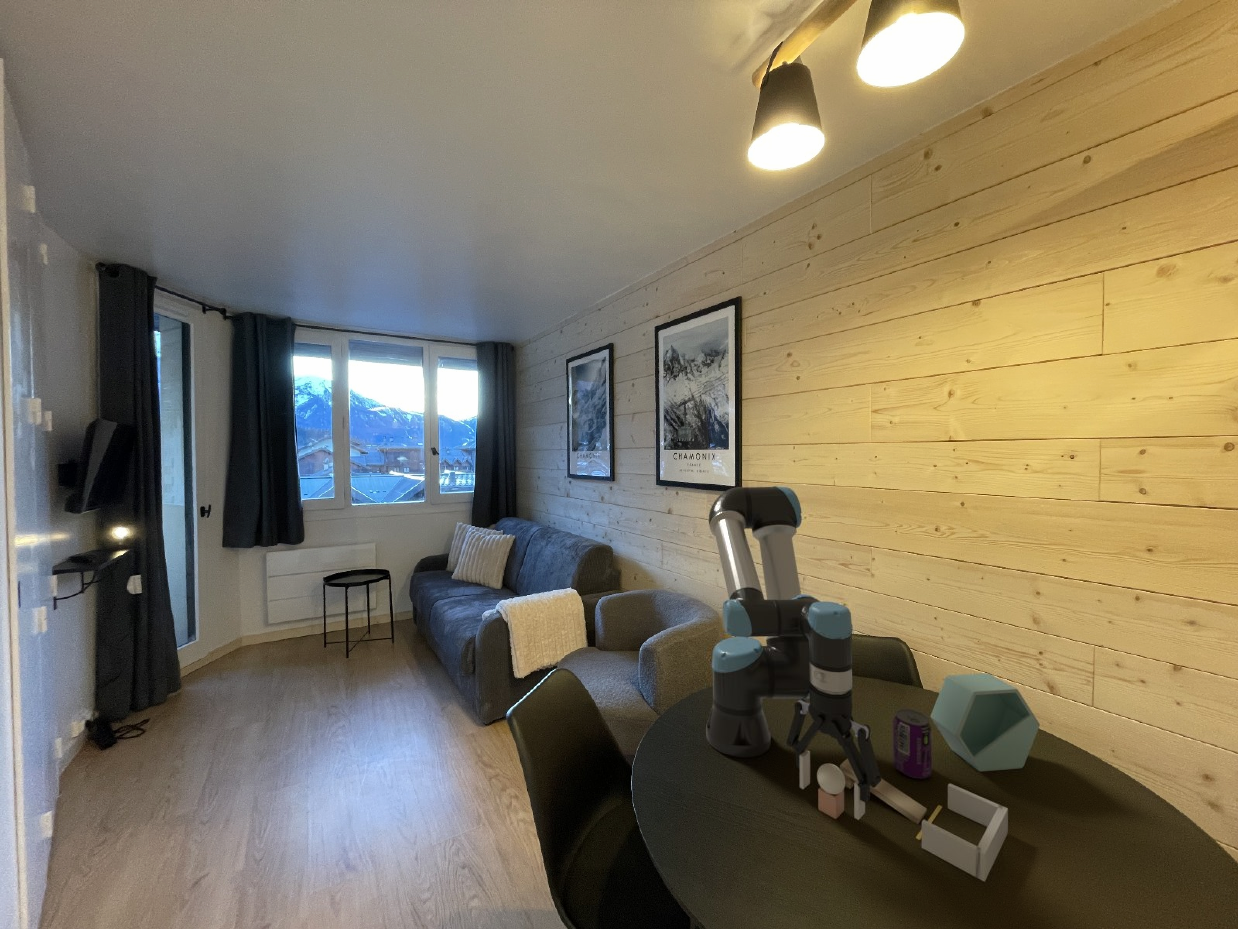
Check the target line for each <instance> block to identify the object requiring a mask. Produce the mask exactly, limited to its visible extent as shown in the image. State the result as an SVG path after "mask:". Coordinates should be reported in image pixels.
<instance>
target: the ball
mask: <svg viewBox="0 0 1238 929" xmlns="http://www.w3.org/2000/svg"><path fill="white" fill-rule="evenodd" d="M816 778H817V782H818V785H819V786H820V787H821V788H822V789H823V790H824V791H826V792H827V793H829V794H839V793H841V792H842V791H843V790H845V777H844V774H843V772H842V771H841V770H840V767H838V766H837V765H835V764H833V763H824V764H821V765H820V766H819V768H818V770H817V772H816Z"/></svg>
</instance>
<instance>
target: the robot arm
mask: <svg viewBox="0 0 1238 929" xmlns="http://www.w3.org/2000/svg"><path fill="white" fill-rule="evenodd" d="M802 520H803V517H802V507H801V503H800V500H799V498H798V496H797V494H796V492H795V491H794V490H793V489H792V488H790V487H787V486H777V485H773V486H754V487H753V486H748V487H747V486H746V487H745V486H744V487H743V486H742V487H741V486H736V487H733V488H729V489H726V491H724V492H722V493H721V494H719V496H718V497H717V498H715V500H714V502H713V504H712V505H711V508H710V510H709V514H708V525H709V530H710V532H711V534H712V535H713V536H714V537H715V539H716V545H717V549H718V554H719V558H720V562H721V569H722V573H723V577H724V582H725V585H726V592H727V595H728V599H725V600H724V601H723V604H722V611H721V612H722V624H723V628H724V631H725V633H726V634H727V635H728V636H730V638H725V639H723V640H720V642H718V643H717V644H715V646H714V648H713V649H712V662H711V668H712V669H711V670H712V707H711V709H710V713H709V716H708V718H707V722H706V726H705V736H706V740H707V742H708V744H710V745H711V747H713V749H715V750H716V751H718V752H720V753H722V754H725V755H727V756H731V757H737V758H754V757H757V756H758V757H759V756H761V755H762V754H764V753H766V752H767V751H768V750H769V749H770V747H771V730H770V728H769V725H768V723H767V722H768V721H767V719H766V715H765V713H764V710H763V701H764V700H763V699H777V700H779V699H784V700H785V699H790V700H791V699H792V700H793V699H796V700H797V699H799V700H798V701H796V702H795V703H794V715H793V719H792V722H791V725H790V729H789V732H788V735H787V739H786V745H787V746H788V747H790V748H791V747H792V748H793V749H794V752H795V765H796V768H798V769H799V788H800V789H802V790H805V788H806V787H807V786H809V785H810V784H811V751H809V750H807V748H808V746H809V745H810V744H811V742H812V741H813V740H814V738H815V737H816V736H817V734H818V733H819V732H820V733H822V734H825V735H828V736H830V737H831V738H833V739H835V740H836V741H837V743H838V745H839V746H840V747H841V748H842V750H843V752H844V753H845V756H846V759H847V758H848V760H849V762H850V765H851V767H852V769H853V771H854V773H855V775H856V777H857V779H858V780H857V781H856V782H855V783H854V786H853V787H854V788H853V800H854V806H853V807H854V808H853V812H854V813H853V814H854V819H855V820H858V821H859V820H860V819H861V818H862V817H863V815H864V814H866V803H867V802H868V801H869V800H870V798H871V792H870V786H871V787H873V788H875V787H876V786H877V785H878V784H879V783H880V781H881V778H882V777H881V773H880V772H881V771H880V770H879V765H878V762H877V759H876V755H875V752H874V748H873V745H872V742H871V741H872V740H871V726H870V725H869V724H867V723H866V724H861V723H858V722H855V720H854V718H853V715H852V714H853V691H852V688H853V670H852V667H853V654H852V652H853V651H852V650H853V649H852V648H853V624H852V623H853V622H852V612H851V610H850V608H848V607H847V606H846V605H843V604H840V603H838V602H833V601H823V600H822V601H821V600H819V599H817V598H815V597H814V596H812V595H809V594H804V593H803V594H802V591H801V584H800V578H799V572H798V568H797V560H796V556H795V548H794V542H793V537H794V536H795V535H796V534H797V533H798V531H797V529H798V528H800V526H801V524H802ZM746 529H747V530H749V529H750V530H751V533H752V538H754V539H755V540H757V541H758V542H759V549H760V550H759V551H760V556H761V564H762V573H763V579H764V586H765V593H766V596H765V597H766V599H765V597H764V593H763V589H762V586H761V583H760V580H759V577H758V576H759V575H758V573H757V569H756V566H755V562H754V558H753V556H752V552H751V549H750V546H749V542H748V538H747V534H746V532H745V530H746ZM755 637H757V638H758V637H761V638H762V637H766V638H765V642H766V644H765V645H763V644H762V642H761V641H760V640H759V639H757V638H755ZM808 699H809V702H807V701H806V700H808ZM808 713H809V714H810V717H811V718H812V720H813V722H812V723H811V725H810V726H809V727H808V730H806V732H805V734H804V735H802V738H801V739H799V738H800V736H801V732H802V728H803V726H804V722H805V719H806V717H807V714H808ZM851 730H852V731H854V736H853V733H852V731H851ZM854 737H855V738H857V745H858V747H857V745H856V743H855V741H854ZM858 748H859V749H858Z"/></svg>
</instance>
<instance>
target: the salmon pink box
mask: <svg viewBox="0 0 1238 929" xmlns="http://www.w3.org/2000/svg"><path fill="white" fill-rule="evenodd" d="M817 791H818V794H817V796H818V799H817V800H818V803H817V806H818V807H817V808H818V810H819V811H820V812H822V813H824V814H825V815H828V816H829V817H831V818H833V819H834V820H837V818H839V817H840V815H841V814H842V813H844V812H845V789H843V791H842V792H841V793H839V794H829V793H827V792H826V791H824V790H823V789H822V788H821V786H820V787H819V788H818V790H817Z"/></svg>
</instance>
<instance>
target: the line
mask: <svg viewBox="0 0 1238 929" xmlns="http://www.w3.org/2000/svg"><path fill="white" fill-rule="evenodd" d="M942 808H943V806H942V805H939V804H938V805H937V807H936V808H935V809H934V811H933V812H932V814H930V816H929V818H928V819H927V821H928V822H930V823H932V824H933V821H934V820H935V819H936V817H937V816H938V815H939V813H940V811H941V810H942ZM915 839H916V840H918V841H921V840H922V828H921V829H920V831H919V832H918V834H917V835H916V836H915Z"/></svg>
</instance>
